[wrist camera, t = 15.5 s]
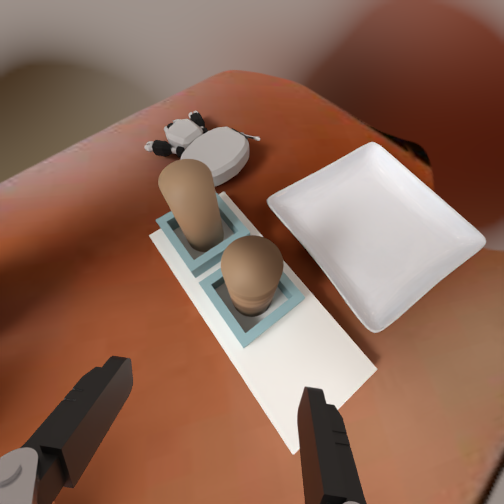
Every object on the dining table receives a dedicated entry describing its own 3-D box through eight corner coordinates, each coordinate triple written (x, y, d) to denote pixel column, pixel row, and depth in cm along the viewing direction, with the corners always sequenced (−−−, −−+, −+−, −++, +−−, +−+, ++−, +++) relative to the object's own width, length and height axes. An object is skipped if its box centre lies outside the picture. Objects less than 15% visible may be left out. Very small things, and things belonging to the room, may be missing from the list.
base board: (290, 449, 24) (331, 541, 12) (153, 240, 32) (100, 178, 21) (370, 368, 26) (464, 380, 15) (224, 197, 35) (213, 123, 24)
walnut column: (248, 325, 27) (246, 307, 17) (223, 292, 28) (208, 258, 18) (280, 299, 28) (296, 268, 18) (255, 269, 29) (256, 224, 19)
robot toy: (147, 162, 39) (211, 208, 34) (133, 139, 35) (204, 186, 30) (199, 123, 43) (263, 160, 38) (193, 98, 39) (263, 135, 34)
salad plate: (471, 250, 33) (494, 239, 30) (362, 339, 28) (376, 337, 25) (364, 154, 40) (374, 137, 37) (261, 212, 35) (263, 199, 32)
